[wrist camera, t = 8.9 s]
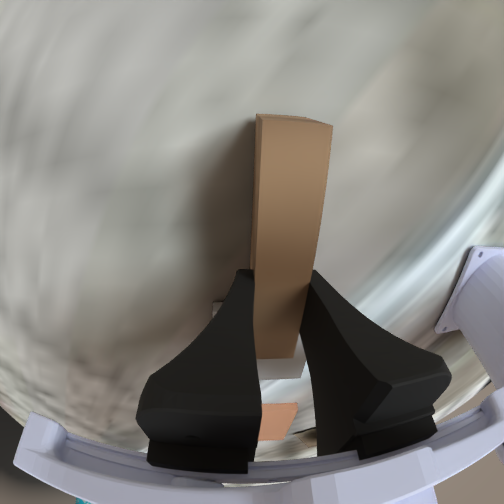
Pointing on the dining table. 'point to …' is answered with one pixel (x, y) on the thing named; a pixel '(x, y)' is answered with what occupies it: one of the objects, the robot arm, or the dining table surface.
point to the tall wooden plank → (285, 235)
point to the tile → (276, 420)
